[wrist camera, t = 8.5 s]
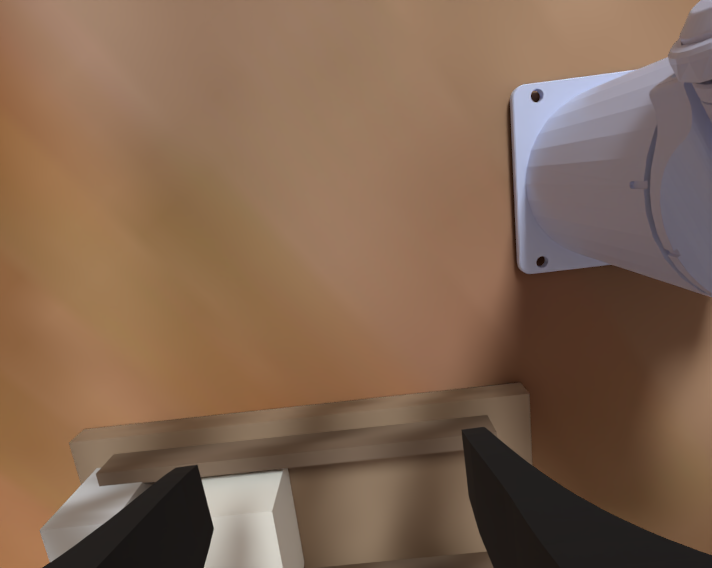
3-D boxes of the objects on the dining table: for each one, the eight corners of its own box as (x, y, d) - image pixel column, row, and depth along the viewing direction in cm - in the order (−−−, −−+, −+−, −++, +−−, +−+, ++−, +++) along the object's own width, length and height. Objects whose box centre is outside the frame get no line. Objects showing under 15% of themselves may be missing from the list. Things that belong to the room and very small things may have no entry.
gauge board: (520, 382, 22) (568, 442, 17) (530, 598, 25) (573, 705, 20) (83, 429, 23) (4, 500, 18) (141, 633, 26) (87, 745, 20)
